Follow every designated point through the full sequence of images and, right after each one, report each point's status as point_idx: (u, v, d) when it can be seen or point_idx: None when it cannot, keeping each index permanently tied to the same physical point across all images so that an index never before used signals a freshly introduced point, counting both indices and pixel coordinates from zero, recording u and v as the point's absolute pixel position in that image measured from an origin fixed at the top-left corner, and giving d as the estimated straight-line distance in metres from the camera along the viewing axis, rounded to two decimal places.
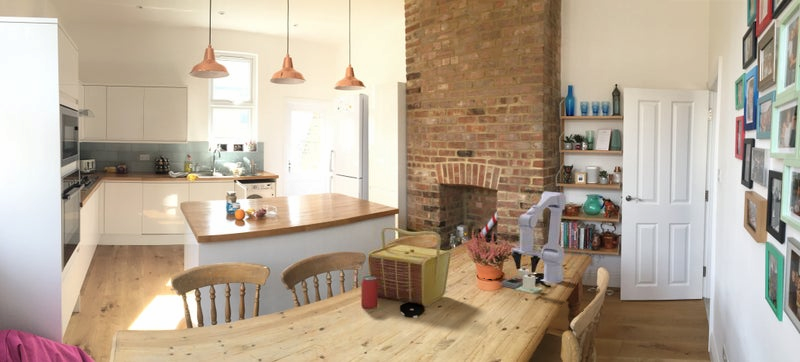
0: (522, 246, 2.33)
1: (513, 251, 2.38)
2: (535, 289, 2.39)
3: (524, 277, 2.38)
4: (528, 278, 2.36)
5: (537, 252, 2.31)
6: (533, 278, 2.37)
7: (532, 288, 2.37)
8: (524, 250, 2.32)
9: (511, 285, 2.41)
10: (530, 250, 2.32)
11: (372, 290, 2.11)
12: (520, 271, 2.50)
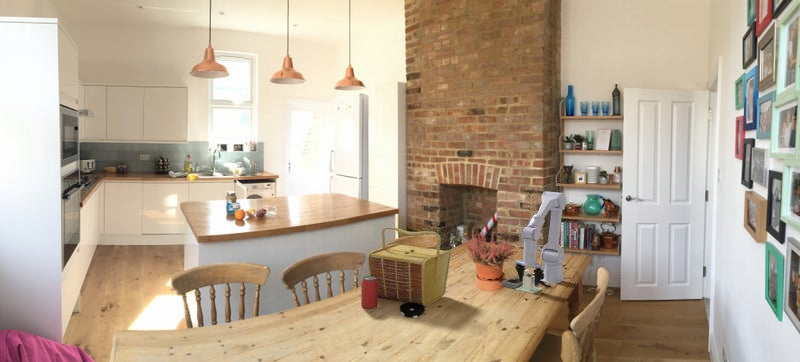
0: (525, 258, 2.36)
1: (516, 263, 2.41)
2: (535, 289, 2.39)
3: (524, 277, 2.38)
4: (528, 278, 2.36)
5: (540, 264, 2.34)
6: (533, 278, 2.37)
7: (532, 288, 2.37)
8: (527, 262, 2.35)
9: (511, 285, 2.41)
10: (533, 262, 2.35)
11: (372, 290, 2.11)
12: None
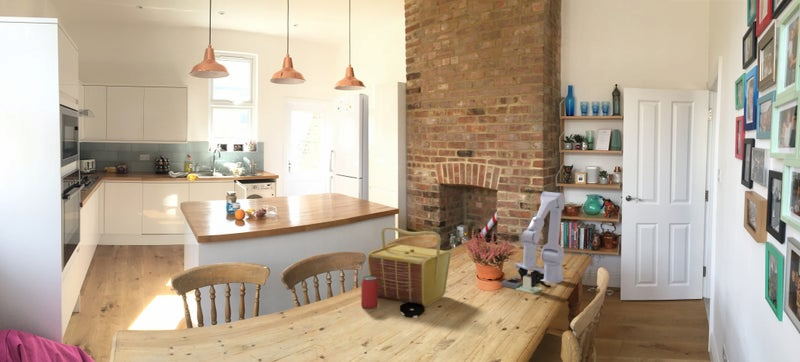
0: (525, 262, 2.36)
1: (516, 266, 2.41)
2: (535, 289, 2.39)
3: (524, 277, 2.38)
4: (528, 278, 2.36)
5: (540, 268, 2.34)
6: None
7: (532, 288, 2.37)
8: (527, 266, 2.35)
9: (511, 285, 2.41)
10: (533, 266, 2.35)
11: (372, 290, 2.11)
12: None
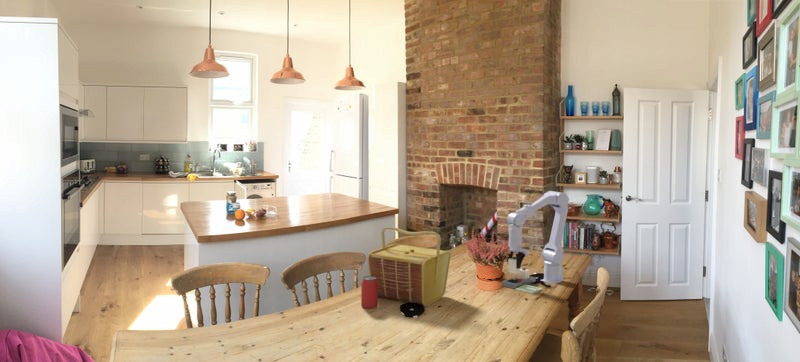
0: (510, 243, 2.42)
1: None
2: (535, 289, 2.39)
3: (509, 260, 2.43)
4: (513, 260, 2.42)
5: (525, 249, 2.40)
6: None
7: (517, 270, 2.43)
8: (512, 247, 2.41)
9: (511, 285, 2.41)
10: (518, 247, 2.41)
11: (372, 290, 2.11)
12: (520, 271, 2.50)
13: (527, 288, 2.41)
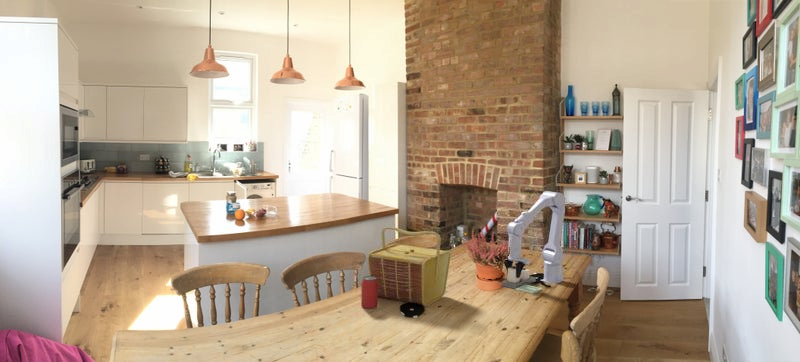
0: (510, 253, 2.42)
1: None
2: (535, 289, 2.39)
3: (509, 269, 2.44)
4: (513, 270, 2.42)
5: (524, 259, 2.40)
6: None
7: (517, 280, 2.43)
8: (512, 257, 2.42)
9: (511, 285, 2.41)
10: (518, 257, 2.41)
11: (372, 290, 2.11)
12: None
13: (527, 288, 2.41)
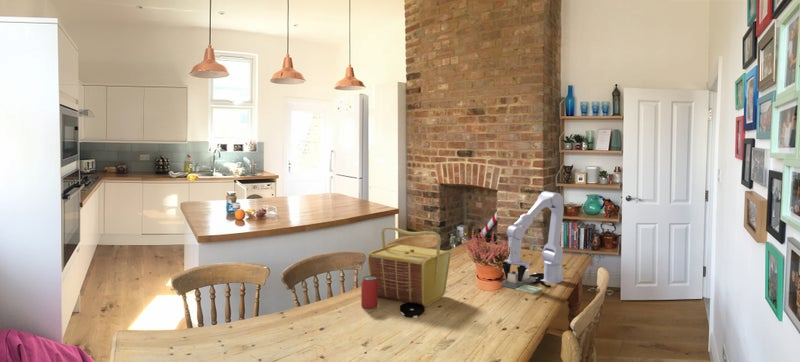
0: (510, 256, 2.42)
1: None
2: (535, 289, 2.39)
3: (509, 274, 2.44)
4: (513, 275, 2.43)
5: (524, 262, 2.41)
6: (517, 275, 2.44)
7: None
8: (512, 260, 2.42)
9: (511, 285, 2.41)
10: (518, 260, 2.42)
11: (372, 290, 2.11)
12: None
13: (527, 288, 2.41)
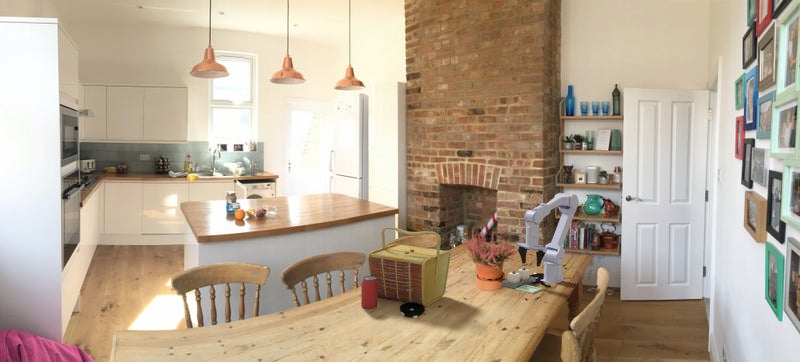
0: (528, 241, 2.42)
1: (519, 246, 2.48)
2: (535, 289, 2.39)
3: (509, 274, 2.44)
4: (513, 275, 2.43)
5: (542, 247, 2.40)
6: (517, 275, 2.44)
7: None
8: (530, 245, 2.42)
9: (511, 285, 2.41)
10: (535, 245, 2.41)
11: (372, 290, 2.11)
12: (520, 271, 2.50)
13: (527, 288, 2.41)
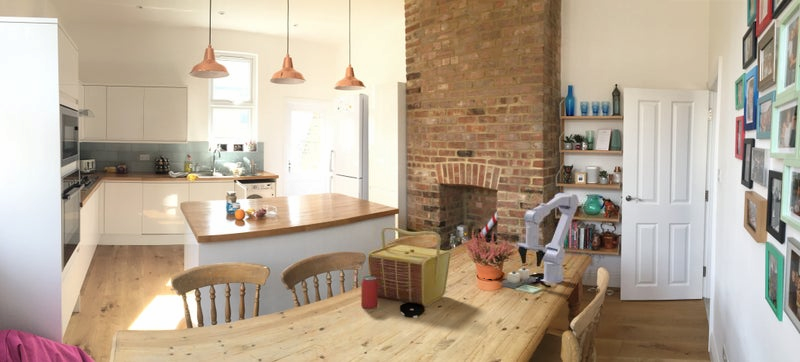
0: (528, 241, 2.42)
1: (519, 246, 2.48)
2: (535, 289, 2.39)
3: (509, 274, 2.44)
4: (513, 275, 2.43)
5: (542, 247, 2.40)
6: (517, 275, 2.44)
7: None
8: (530, 245, 2.42)
9: (511, 285, 2.41)
10: (535, 245, 2.41)
11: (372, 290, 2.11)
12: (520, 271, 2.50)
13: (527, 288, 2.41)
